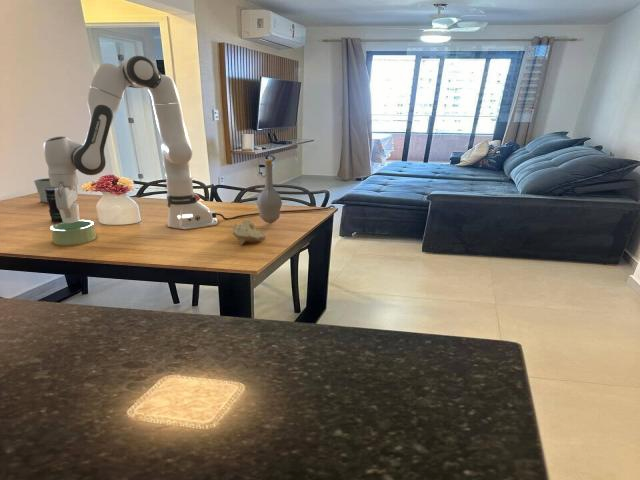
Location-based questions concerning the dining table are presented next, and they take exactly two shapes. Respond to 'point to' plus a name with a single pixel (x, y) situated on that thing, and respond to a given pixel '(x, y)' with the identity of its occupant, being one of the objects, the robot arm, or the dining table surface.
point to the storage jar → (53, 205)
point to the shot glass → (74, 214)
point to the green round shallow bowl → (73, 233)
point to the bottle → (269, 198)
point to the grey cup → (42, 188)
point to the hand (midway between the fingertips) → (70, 215)
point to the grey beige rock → (247, 232)
